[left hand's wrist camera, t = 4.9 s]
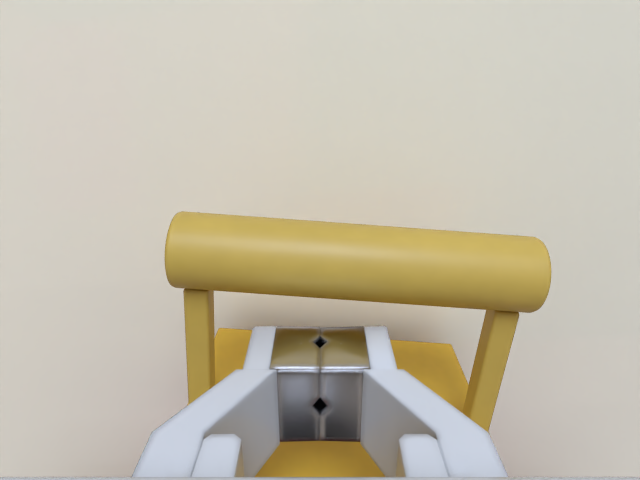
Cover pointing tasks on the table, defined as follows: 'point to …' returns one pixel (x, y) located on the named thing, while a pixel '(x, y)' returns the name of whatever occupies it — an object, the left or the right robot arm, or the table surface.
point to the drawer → (362, 285)
